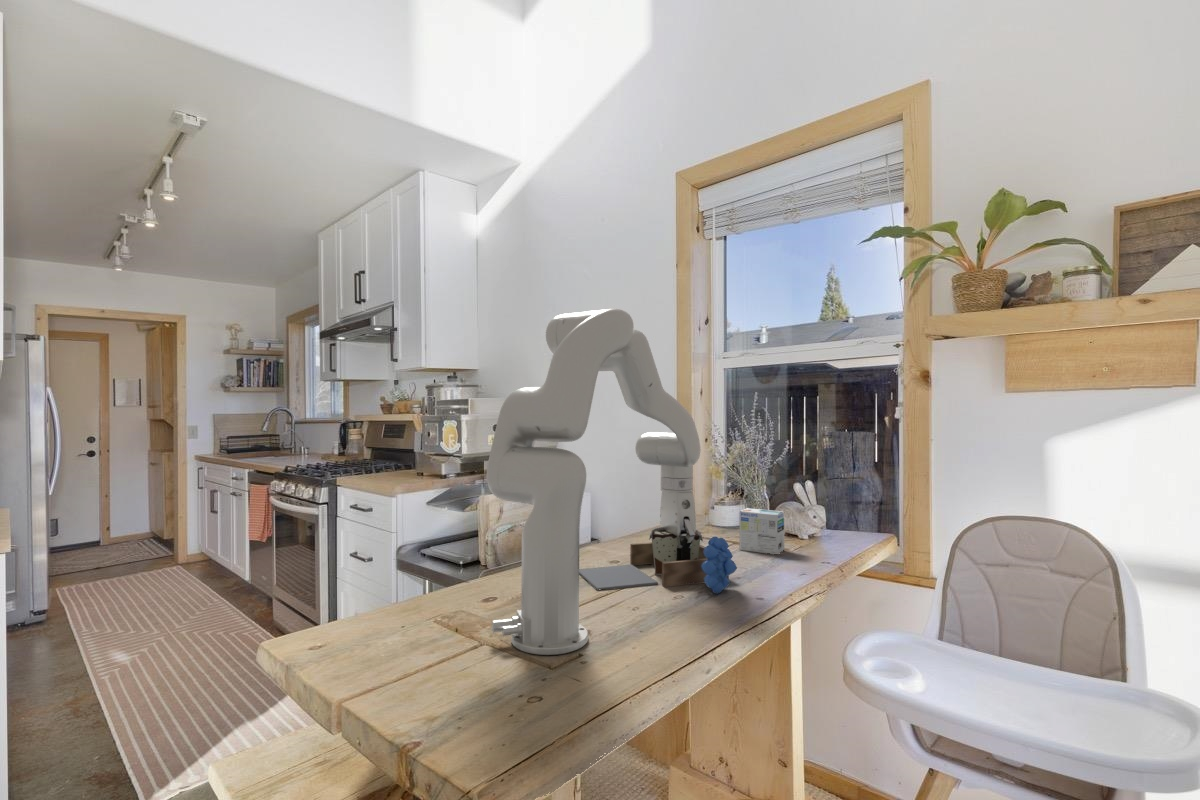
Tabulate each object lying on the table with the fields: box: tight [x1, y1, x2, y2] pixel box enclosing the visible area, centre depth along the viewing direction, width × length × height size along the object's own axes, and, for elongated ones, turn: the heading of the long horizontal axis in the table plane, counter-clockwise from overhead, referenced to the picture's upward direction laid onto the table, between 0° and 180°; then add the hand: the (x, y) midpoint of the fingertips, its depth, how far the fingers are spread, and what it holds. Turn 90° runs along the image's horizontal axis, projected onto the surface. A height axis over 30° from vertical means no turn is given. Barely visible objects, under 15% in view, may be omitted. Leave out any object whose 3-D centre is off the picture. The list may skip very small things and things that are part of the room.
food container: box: [648, 526, 704, 576], centre depth 139 cm, size 12×6×10 cm, turn 87°
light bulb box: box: [738, 507, 785, 555], centre depth 160 cm, size 11×7×11 cm, turn 58°
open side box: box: [629, 541, 730, 588], centre depth 139 cm, size 16×19×5 cm
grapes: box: [701, 536, 738, 594], centre depth 122 cm, size 12×7×12 cm, turn 144°
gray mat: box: [579, 564, 659, 591], centre depth 133 cm, size 14×15×1 cm
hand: (676, 560), depth 138 cm, fingers closed on food container, 6 cm apart
